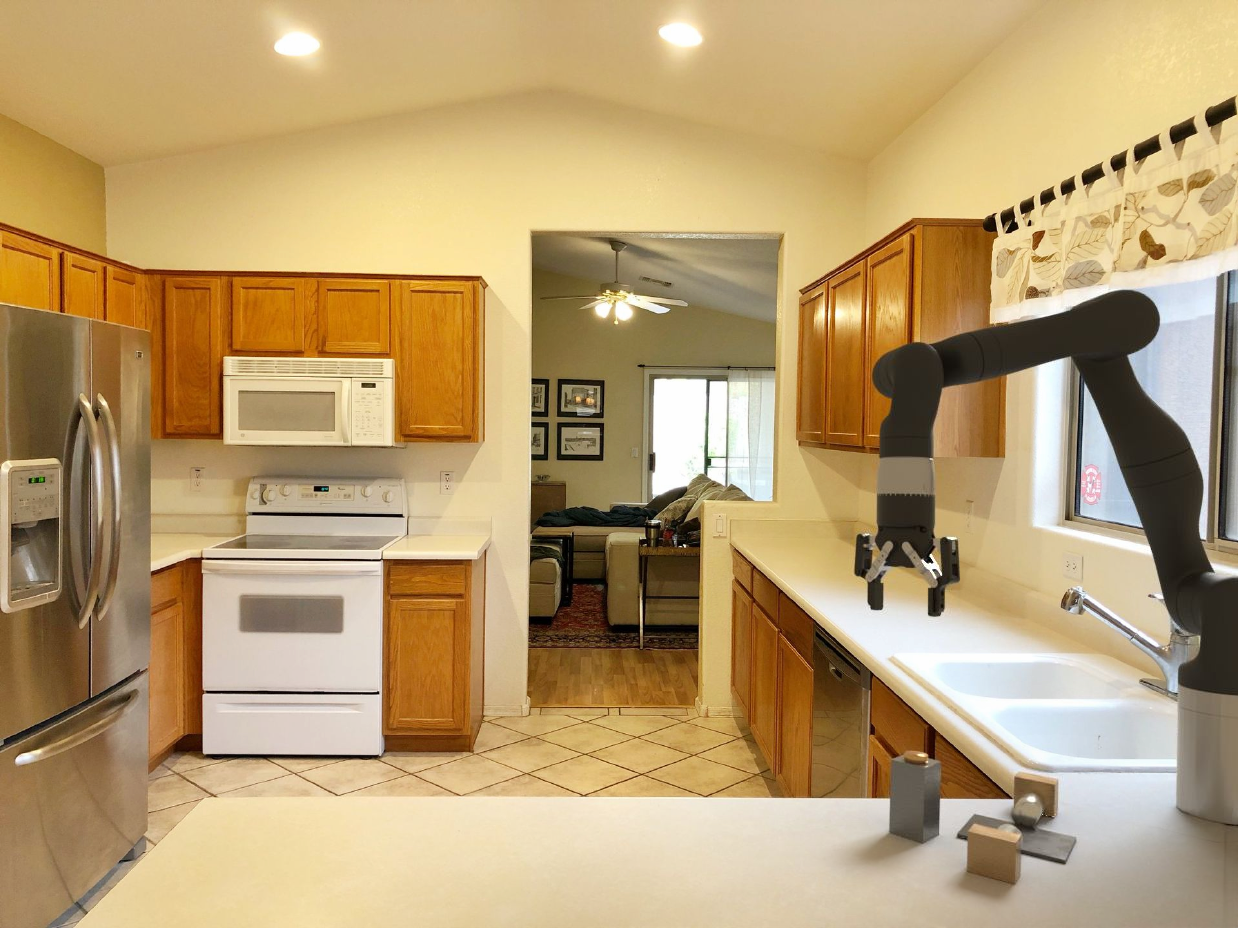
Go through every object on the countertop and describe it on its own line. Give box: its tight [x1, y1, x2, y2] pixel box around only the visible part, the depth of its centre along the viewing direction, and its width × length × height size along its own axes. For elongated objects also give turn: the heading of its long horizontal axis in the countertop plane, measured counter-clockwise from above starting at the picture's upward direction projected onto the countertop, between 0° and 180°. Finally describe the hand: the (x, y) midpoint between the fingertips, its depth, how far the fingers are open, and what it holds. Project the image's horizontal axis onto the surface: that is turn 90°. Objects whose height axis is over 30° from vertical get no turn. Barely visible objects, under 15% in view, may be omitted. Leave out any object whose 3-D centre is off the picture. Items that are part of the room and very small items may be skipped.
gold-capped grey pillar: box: [888, 750, 942, 845], centre depth 107 cm, size 4×4×10 cm
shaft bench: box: [956, 771, 1077, 885], centre depth 107 cm, size 29×12×4 cm, turn 145°
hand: (904, 613), depth 116 cm, fingers open, 8 cm apart
